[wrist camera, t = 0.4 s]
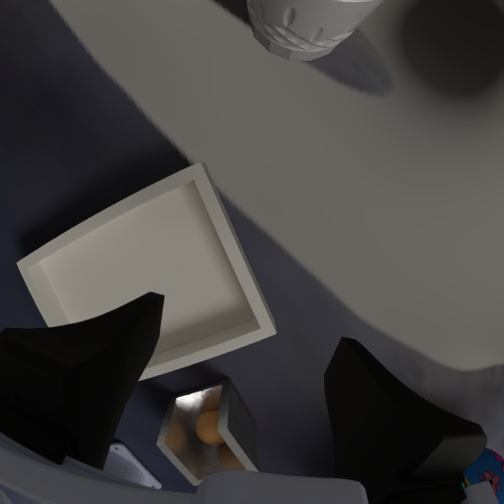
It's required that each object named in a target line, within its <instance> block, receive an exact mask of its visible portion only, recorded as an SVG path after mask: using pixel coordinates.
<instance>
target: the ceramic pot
mask: <svg viewBox="0 0 504 504" xmlns="http://www.w3.org/2000/svg"><path fill="white" fill-rule="evenodd" d="M463 474H464V476H465V481H464V482H462V483H461V484H462V486H463V489H464V488H466V487H468V486H470V485H473V484H476V483H480V482H484V481H489V483H490V485H491V487H492V489H493V491H494V493H495V496H496V498H497V500H498V502H499V504H504V459H503V458H502V457H501V456H500V455H499V454H497V453H496V452H495V451H493V450H491V449H489V448H486V447H485V448H484V450H483V452H482V453H481V454H480V455H479V457H478V458H477V459H476V460H475V461H474V462H473V463H472V464H471V465H470V466H469V467H468V468H467V469H466V470H465V471H464V472H463Z"/></svg>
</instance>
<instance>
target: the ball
mask: <svg viewBox="0 0 504 504" xmlns="http://www.w3.org/2000/svg"><path fill="white" fill-rule="evenodd" d="M218 421H219V412H218V411H209V412H206V413H204V414H202V415H201V416H200V417H199V418H198V420H197V422H196V433H197V435H198V437H199V438H200V439H201V440H202V441H203V442H205V443H207V444H210V445H218V444H222V443H224V442H225V441H224V439H223V438H222V436H221V435H220V434H219V432H218Z"/></svg>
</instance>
